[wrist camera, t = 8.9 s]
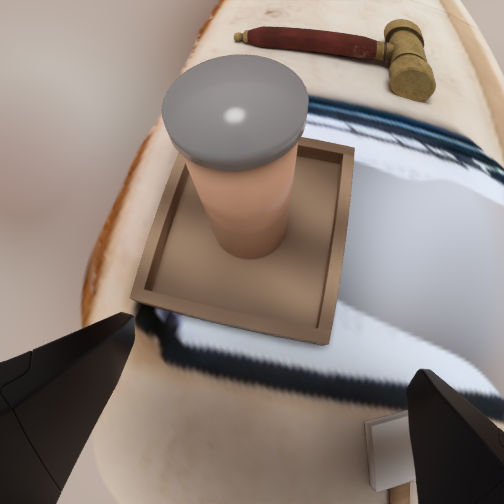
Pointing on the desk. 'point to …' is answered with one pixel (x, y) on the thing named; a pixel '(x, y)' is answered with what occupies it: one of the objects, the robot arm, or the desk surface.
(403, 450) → the mallet
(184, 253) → the walnut tray
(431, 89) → the gavel
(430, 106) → the desk surface
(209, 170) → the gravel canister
